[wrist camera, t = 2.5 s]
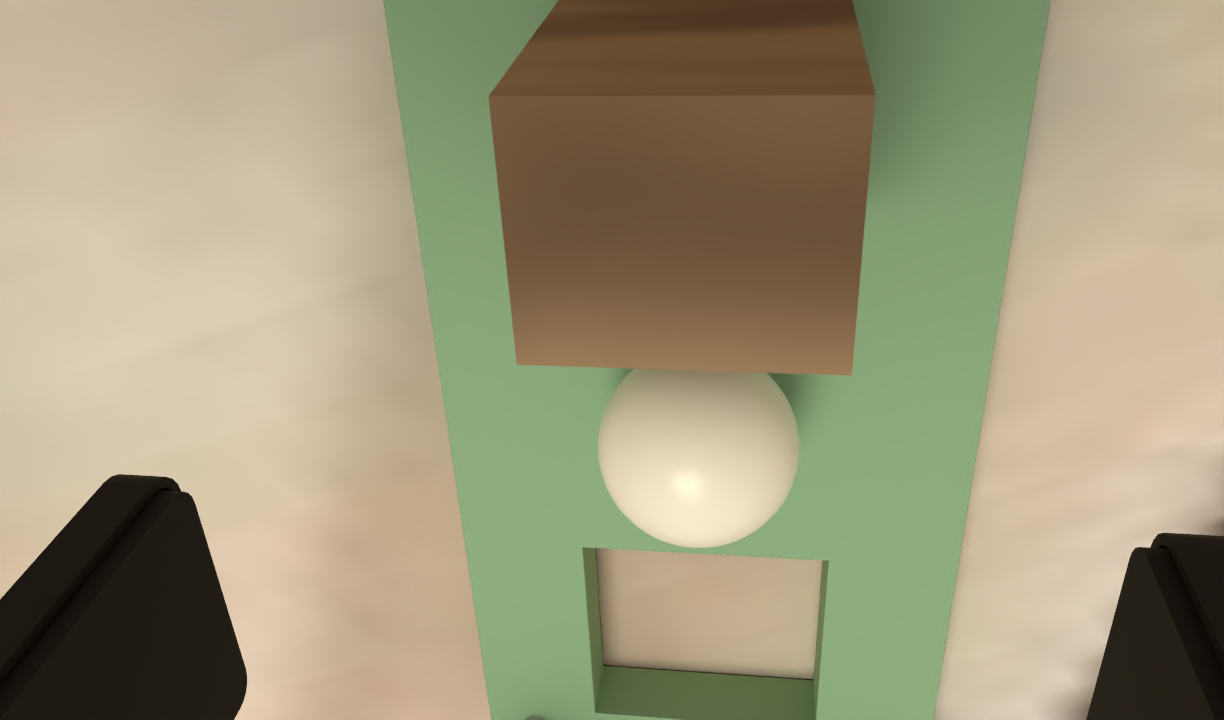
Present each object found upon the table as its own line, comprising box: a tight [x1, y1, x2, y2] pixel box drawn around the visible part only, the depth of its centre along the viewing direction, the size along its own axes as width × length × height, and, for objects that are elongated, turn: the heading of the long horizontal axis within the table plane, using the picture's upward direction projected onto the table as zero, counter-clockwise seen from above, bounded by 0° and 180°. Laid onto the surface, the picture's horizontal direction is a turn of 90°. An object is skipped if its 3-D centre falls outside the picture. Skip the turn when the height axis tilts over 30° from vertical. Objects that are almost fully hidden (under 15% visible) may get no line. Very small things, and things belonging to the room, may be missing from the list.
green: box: [383, 0, 1050, 720], centre depth 25 cm, size 25×14×14 cm, turn 3°
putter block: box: [488, 0, 876, 376], centre depth 21 cm, size 5×6×7 cm
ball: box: [598, 369, 800, 548], centre depth 26 cm, size 5×5×5 cm
